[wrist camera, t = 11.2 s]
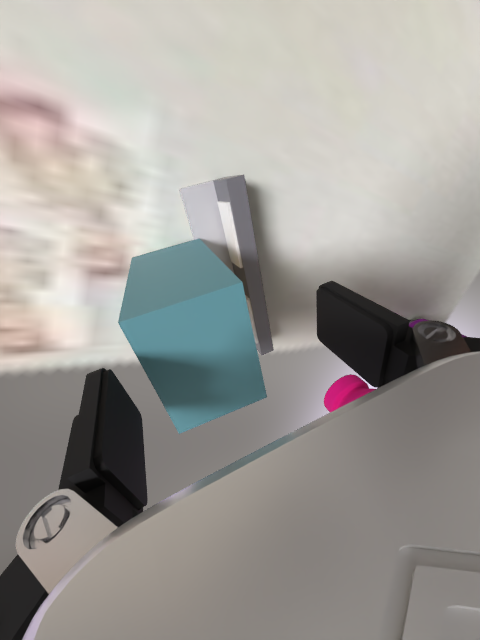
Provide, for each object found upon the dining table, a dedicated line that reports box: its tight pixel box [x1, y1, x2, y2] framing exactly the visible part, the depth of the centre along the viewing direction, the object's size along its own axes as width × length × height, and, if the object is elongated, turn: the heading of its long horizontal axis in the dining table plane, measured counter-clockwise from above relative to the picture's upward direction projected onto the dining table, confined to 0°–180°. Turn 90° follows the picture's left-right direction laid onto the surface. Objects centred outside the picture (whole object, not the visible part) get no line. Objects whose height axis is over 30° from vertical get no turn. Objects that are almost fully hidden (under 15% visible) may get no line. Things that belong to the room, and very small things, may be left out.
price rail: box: [179, 175, 273, 355], centre depth 20 cm, size 4×14×3 cm, turn 13°
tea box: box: [118, 238, 267, 433], centre depth 16 cm, size 5×7×10 cm
